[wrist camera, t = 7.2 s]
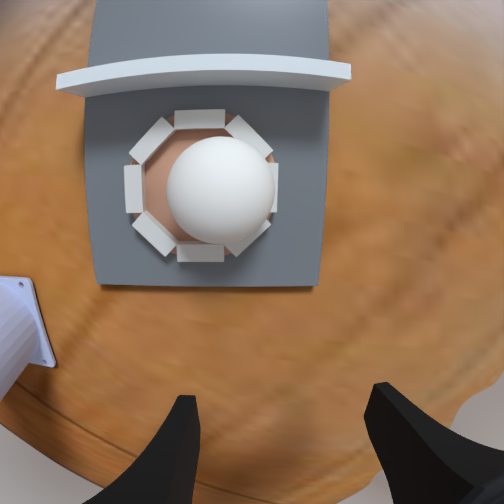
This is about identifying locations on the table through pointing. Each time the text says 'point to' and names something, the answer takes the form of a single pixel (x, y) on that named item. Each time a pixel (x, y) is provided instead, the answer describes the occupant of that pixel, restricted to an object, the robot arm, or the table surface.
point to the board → (205, 133)
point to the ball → (220, 190)
